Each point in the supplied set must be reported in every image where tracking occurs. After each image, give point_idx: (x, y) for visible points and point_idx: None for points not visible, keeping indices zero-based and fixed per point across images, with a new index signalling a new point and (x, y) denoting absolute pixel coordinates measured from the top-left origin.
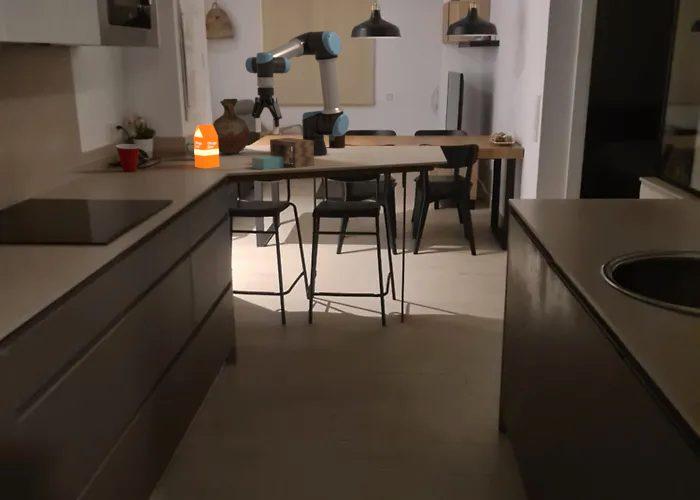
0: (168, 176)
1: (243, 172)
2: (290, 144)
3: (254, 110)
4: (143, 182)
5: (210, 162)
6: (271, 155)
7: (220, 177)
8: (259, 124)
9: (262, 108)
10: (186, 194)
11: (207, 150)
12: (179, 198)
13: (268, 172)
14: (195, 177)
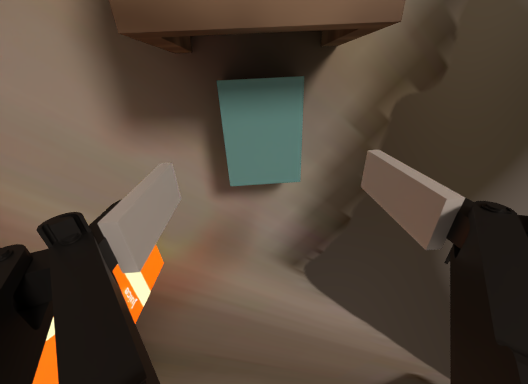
0: (233, 336)
1: (291, 229)
2: (347, 26)
3: (33, 375)
4: (265, 366)
5: (152, 258)
6: (225, 89)
7: (313, 287)
8: (154, 201)
9: (154, 380)
10: (394, 358)
11: (139, 295)
12: (407, 367)
13: (341, 183)
14: (277, 314)
